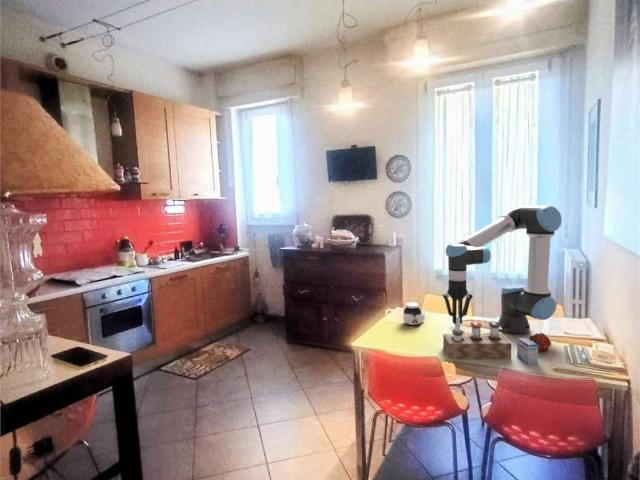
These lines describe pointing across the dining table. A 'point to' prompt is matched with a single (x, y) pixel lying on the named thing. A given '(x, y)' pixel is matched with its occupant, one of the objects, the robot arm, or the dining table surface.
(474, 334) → the plunger
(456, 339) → the plunger
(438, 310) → the dining table surface
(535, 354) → the medicine box
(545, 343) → the dragon fruit
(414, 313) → the spread jar
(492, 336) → the plunger
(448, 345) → the block
